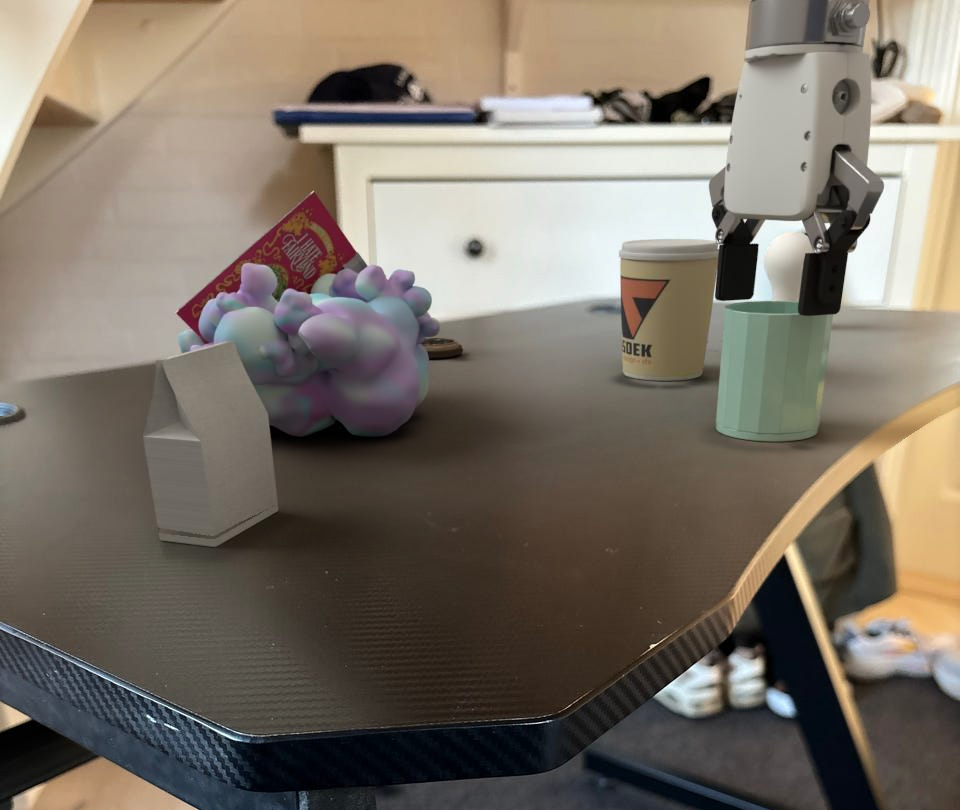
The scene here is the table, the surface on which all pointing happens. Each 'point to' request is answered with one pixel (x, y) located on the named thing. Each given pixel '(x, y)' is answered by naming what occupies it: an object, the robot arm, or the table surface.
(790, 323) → the glass
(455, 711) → the table surface
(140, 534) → the table surface
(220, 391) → the milk carton
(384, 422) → the pastel lumpy blob
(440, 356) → the compass
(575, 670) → the table surface
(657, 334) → the coffee cup
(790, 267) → the lightbulb
